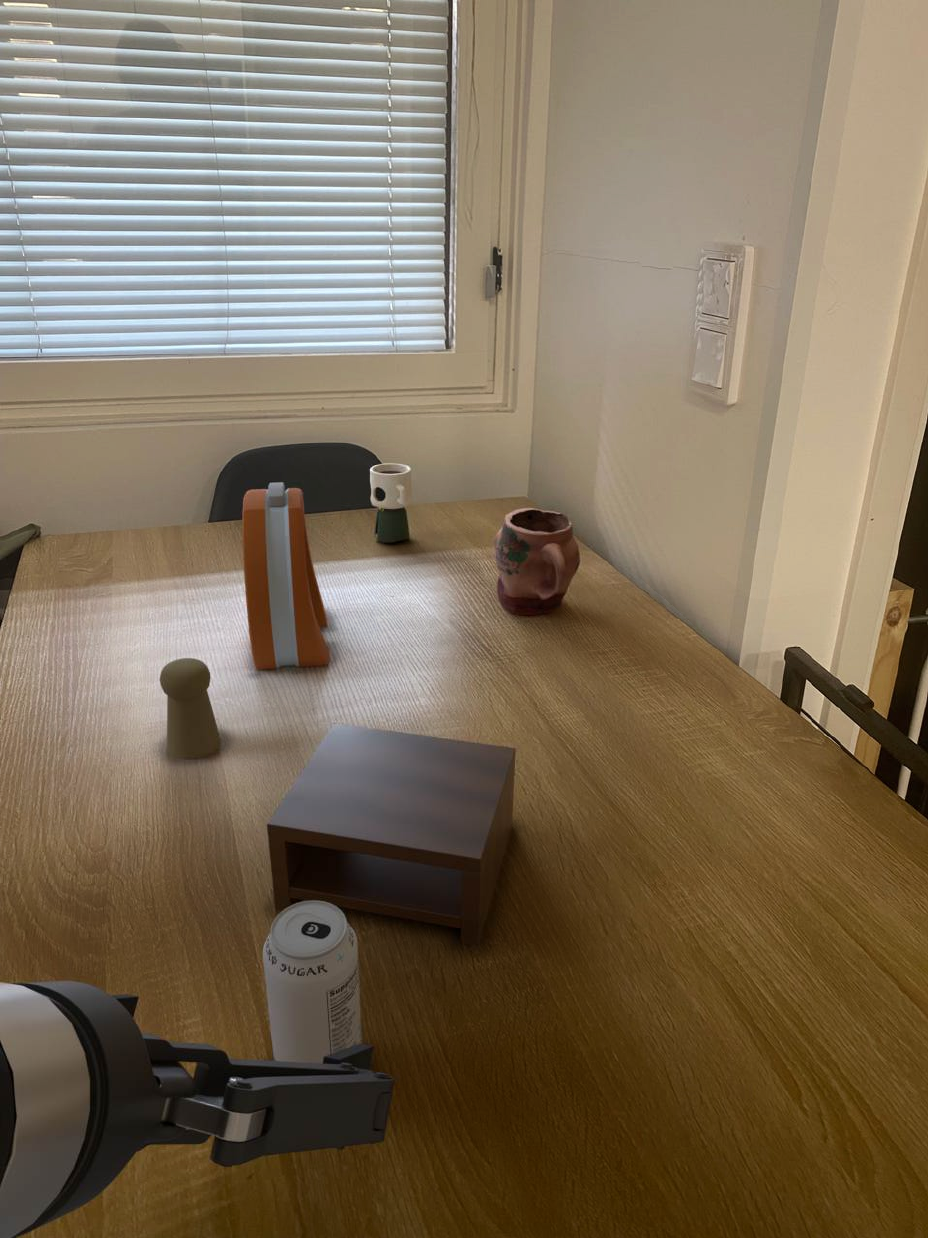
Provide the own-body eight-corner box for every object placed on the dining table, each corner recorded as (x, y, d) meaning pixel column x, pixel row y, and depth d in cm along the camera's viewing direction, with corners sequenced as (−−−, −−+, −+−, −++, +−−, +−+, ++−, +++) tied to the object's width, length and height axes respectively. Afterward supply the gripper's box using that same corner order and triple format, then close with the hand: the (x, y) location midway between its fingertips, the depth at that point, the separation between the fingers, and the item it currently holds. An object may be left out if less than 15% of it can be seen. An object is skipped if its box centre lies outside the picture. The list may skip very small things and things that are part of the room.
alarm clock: (333, 681, 116) (323, 512, 106) (254, 686, 114) (237, 516, 105) (327, 608, 136) (319, 460, 126) (260, 612, 134) (246, 462, 124)
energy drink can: (301, 1041, 68) (287, 885, 61) (376, 1063, 66) (371, 905, 59) (262, 1113, 62) (242, 950, 56) (343, 1138, 61) (332, 974, 54)
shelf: (478, 954, 75) (480, 859, 71) (275, 916, 79) (266, 824, 75) (511, 833, 90) (515, 747, 85) (338, 805, 93) (334, 722, 89)
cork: (220, 732, 105) (210, 647, 100) (225, 761, 100) (214, 673, 95) (165, 740, 103) (153, 655, 98) (167, 770, 98) (154, 681, 93)
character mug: (361, 532, 165) (359, 463, 159) (397, 527, 168) (396, 458, 162) (386, 552, 156) (384, 479, 151) (423, 546, 159) (422, 474, 154)
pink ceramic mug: (603, 629, 131) (611, 538, 125) (526, 642, 127) (531, 549, 121) (541, 577, 148) (546, 495, 141) (472, 587, 143) (473, 503, 137)
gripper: (-377, 1154, 30) (13, 1074, 50) (335, 1356, 25) (455, 1179, 45) (-280, 919, 33) (55, 932, 52) (387, 1063, 28) (479, 1017, 47)
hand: (240, 1046), depth 49 cm, fingers open, 13 cm apart
